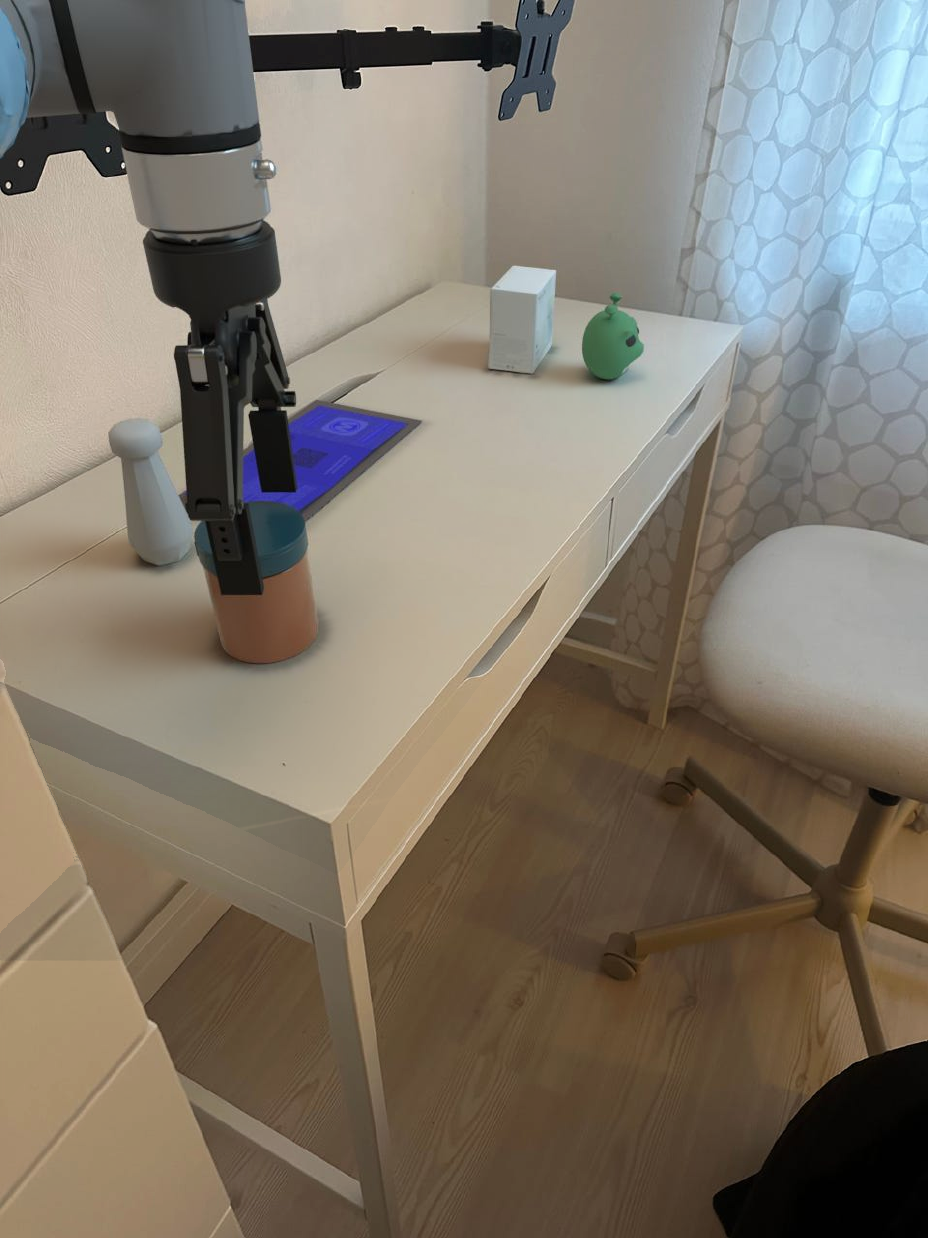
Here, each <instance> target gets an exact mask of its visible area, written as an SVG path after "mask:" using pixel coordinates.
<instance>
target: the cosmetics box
mask: <svg viewBox="0 0 928 1238" xmlns="http://www.w3.org/2000/svg"><path fill="white" fill-rule="evenodd" d="M556 280H557V270H556V269H548V268H540V267H530V266H521V265H511V266H510V268H509V269H508V270H507V271H506V272H505V273H504V274H503V275H502V276H501V278H499V280H497V282H495V284H494V285H493V286H491V288H490V291H489V342H488V343H489V344H488V358H487V359H488V360H487V361H488V364H487V368H488V369H489V370H498V371H507V372H515V373H523V374H530V375H531V374H534V373H535V371H536V370H537V368H538V367H539V366H540V364H541V363H542V361H543V360H544V358H545V357H546V356H547V353H548V352H549V351H550V349H551V348H552V345H553V328H554V327H553V326H554V310H555V295H556Z"/></svg>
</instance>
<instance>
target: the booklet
mask: <svg viewBox="0 0 928 1238" xmlns="http://www.w3.org/2000/svg"><path fill="white" fill-rule="evenodd" d="M403 428H404V427H403V425H402V424H400V423H389V422H388V421H376V419H375V418H363V417H362V416H350V414H349V413H342V412H341V411H332V410H331V409H322V408H321V407H315V408H313V409H311V410H310V411H308V412H306V413H305V414H303V415H301V416H300V417H298V418H297V419H295V420H293V421H292V422H290V423H289V431H290V438H291V445H292V452H293V459H294V466H295V473H296V480H297V487H298V488H297V491H296V492H266V493H262V492H261V486H260V481H259V475H258V469H257V463H256V457H255V451H254V449H253V450H251V451H250V452H249V453H248V454H246V455H245V456H244V457H243V502H249V501H274V502H280V503H284V504H287V505H289V506H292V507H294V508H295V509H297V510H298V511H300V510H302V509H303V508H305V507H306V506H307V505H309V504H310V503H312V502H313V501H314V500H316V499H317V498H319V497H320V496H322V495H323V494H324V493H326V492H327V491H329V490H330V489H331V488H333V487H334V486H335V485H336V484H337V483H338V482H339V481H340V480H341V479H343V478H344V477H345V476H346V475H347V474H348V473H349V472H350V471H351V470H353V469H354V468H355V467H356V466H357V465H358V464H359V463H360V462H361V461H362V460H364V459H365V458H366V457H367V456H368V455H369V454H370V453H371V452H372V451H374V450H375V449H376V448H378V447H379V446H380V445H382V444H383V443H384V442H386V441H387V440H388V439H390V438H391V437H393V436H394V435H395V434H397V433H398V432H399V431H401V430H402V429H403Z"/></svg>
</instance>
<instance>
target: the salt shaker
mask: <svg viewBox="0 0 928 1238" xmlns="http://www.w3.org/2000/svg"><path fill="white" fill-rule="evenodd" d="M107 435H108V443H109V447H110V449H111V452H112V454H113V455H114V456H116V457H118V459H119V458H120V461H121V462H120V463H121V472H122V482H123V492H124V493H123V494H124V502H125V517H126V531H127V532H126V533H127V534H126V535H127V538H128V542H129V544H130V547H131V548H132V549H133V550H134V552H136V553H137V555H138V556H140V557H141V559H142V560H143V561H144V562H146V563H150V564H152V565H156V566H158V567H159V566H165V565H168V564H172V563H176V562H180V561H181V560H182V559H183V557H185V556H186V554H187V553H188V552H189V551H190V548H191V543H192V540H193V537H194V536H193V535H194V526H193V523H192V521H191V520H190V519H189V517H188V514H187V512H186V510H185V508H184V506H183V504H182V502H181V500H180V498H179V496H178V495H179V493H178V492H177V488H176V487H175V485H174V483H173V481H172V478H171V476H170V474H169V471H168V470H167V468H166V466H165V464H164V462H163V459H162V457H161V454H160V453H159V451H160V449H161V448H162V446H163V438H162V437H163V435H162V434H161V430H160V428H159V426H158V424H157V423H156V422H153V420H150V419H149V418H143V417H134V418H128V419H124V420H120V421H118V422H117V423H115V424H113V425H112V427H111V428H110V429H109V431H108V432H107Z"/></svg>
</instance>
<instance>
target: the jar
mask: <svg viewBox="0 0 928 1238" xmlns="http://www.w3.org/2000/svg"><path fill="white" fill-rule="evenodd" d="M309 558H310V557H309V551H308V549H307V551H306V553H305V554H304V556H303V557H302V558H301V559H300V560H299V561H298V562H297V563H296V564H295V565H293V566H292V567H290V568H288V569H286V570H284V571H282V572H280V573H277V574H274V575H271V576H267V577H263V578H262V579H263V584H264V591H263V594H262V595H221V591H220V587H219V582H218V578H217V576H216V575H214V574H212V573H210V572H209V571H207V570H206V569H205V568H204V567H203V566H202V569H203V573H204V576H205V577H204V578H205V581H206V585H207V589H208V593H209V598H210V602H211V606H212V610H213V614H214V619H215V623H216V627H217V631H218V635H219V639H220V644H221V646H222V648H223V650H224V651H225V653H227V654H228V655H229V656H230V657H232V658H234V659H236V660H238V661H241V662H245V663H250V664H269V663H270V664H271V663H277V662H282V661H285V660H288V659H290V658H293V657H296V656H297V655H299V654H301V653H302V652H304V651H305V650H307V649H308V648H309V647H310V646H311V645H312V644H313V643H314V641H315V640H316V638H317V637H318V634H319V630H320V625H319V624H320V623H319V617H318V612H317V611H318V610H317V604H316V599H315V598H316V597H315V592H314V585H313V584H314V583H313V577H312V572H311V566H310V565H311V564H310V559H309Z"/></svg>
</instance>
